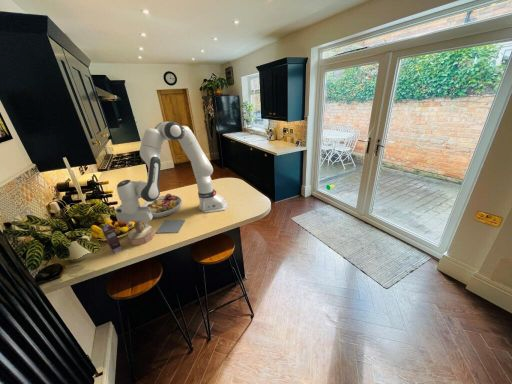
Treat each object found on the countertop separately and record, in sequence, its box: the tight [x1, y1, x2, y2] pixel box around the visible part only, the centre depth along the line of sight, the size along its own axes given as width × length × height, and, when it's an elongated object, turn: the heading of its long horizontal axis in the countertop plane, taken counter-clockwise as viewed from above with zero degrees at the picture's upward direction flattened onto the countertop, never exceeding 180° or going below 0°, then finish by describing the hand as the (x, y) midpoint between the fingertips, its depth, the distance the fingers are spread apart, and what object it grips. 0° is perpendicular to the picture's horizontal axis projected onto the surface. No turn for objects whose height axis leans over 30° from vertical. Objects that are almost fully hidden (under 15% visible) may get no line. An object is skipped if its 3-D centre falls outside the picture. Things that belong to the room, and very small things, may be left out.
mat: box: [155, 219, 186, 234], centre depth 146 cm, size 15×15×1 cm
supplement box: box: [100, 222, 123, 255], centre depth 124 cm, size 9×5×16 cm, turn 48°
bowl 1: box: [127, 227, 155, 246], centre depth 135 cm, size 14×14×4 cm
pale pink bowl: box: [127, 221, 154, 239], centre depth 133 cm, size 14×14×7 cm
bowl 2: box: [141, 193, 183, 218], centre depth 168 cm, size 30×30×8 cm
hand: (138, 226), depth 132 cm, fingers open, 8 cm apart
